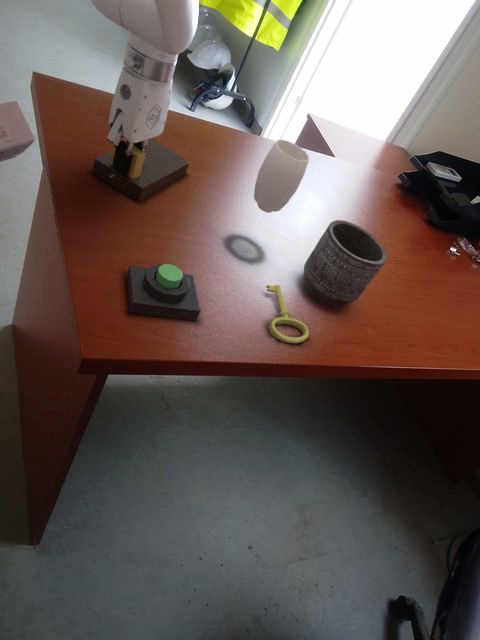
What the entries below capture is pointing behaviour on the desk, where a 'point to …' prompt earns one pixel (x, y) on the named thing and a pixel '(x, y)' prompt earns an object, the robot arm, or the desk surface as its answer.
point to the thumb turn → (133, 161)
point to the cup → (280, 175)
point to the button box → (161, 295)
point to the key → (285, 319)
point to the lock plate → (144, 172)
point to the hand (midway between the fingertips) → (125, 168)
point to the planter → (342, 264)
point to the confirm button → (169, 276)
